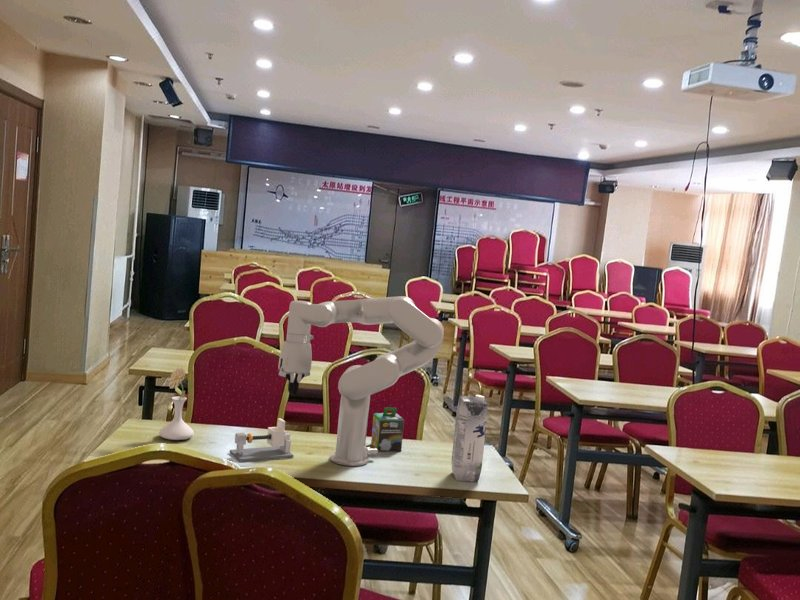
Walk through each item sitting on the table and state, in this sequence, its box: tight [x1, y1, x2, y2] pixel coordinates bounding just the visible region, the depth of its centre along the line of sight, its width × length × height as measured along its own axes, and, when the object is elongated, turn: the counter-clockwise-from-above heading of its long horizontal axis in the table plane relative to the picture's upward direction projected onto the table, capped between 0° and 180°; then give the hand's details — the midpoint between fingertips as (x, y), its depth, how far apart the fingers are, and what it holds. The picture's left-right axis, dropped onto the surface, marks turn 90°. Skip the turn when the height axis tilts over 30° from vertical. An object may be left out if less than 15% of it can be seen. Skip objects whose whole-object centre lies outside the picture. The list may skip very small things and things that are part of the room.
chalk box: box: [370, 407, 405, 452], centre depth 260 cm, size 9×9×15 cm
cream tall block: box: [266, 417, 286, 447], centre depth 240 cm, size 4×5×8 cm
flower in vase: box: [158, 366, 195, 441], centre depth 246 cm, size 13×11×25 cm
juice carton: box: [451, 394, 488, 483], centre depth 235 cm, size 9×10×27 cm
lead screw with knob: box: [246, 433, 272, 444], centre depth 238 cm, size 16×3×3 cm, turn 122°
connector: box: [234, 432, 247, 455], centre depth 234 cm, size 3×3×6 cm
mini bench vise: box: [229, 430, 294, 463], centre depth 238 cm, size 18×10×7 cm, turn 122°
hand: (292, 393), depth 242 cm, fingers closed
